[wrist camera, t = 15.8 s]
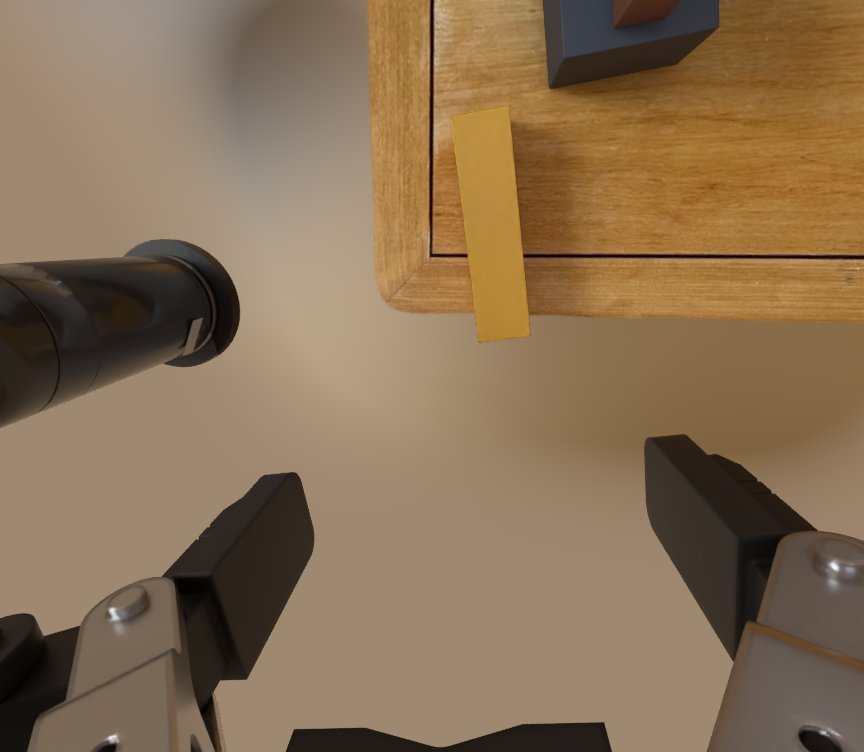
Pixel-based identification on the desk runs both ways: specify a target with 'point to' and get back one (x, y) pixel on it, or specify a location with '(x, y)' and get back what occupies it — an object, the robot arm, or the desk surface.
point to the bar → (492, 222)
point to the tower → (621, 36)
